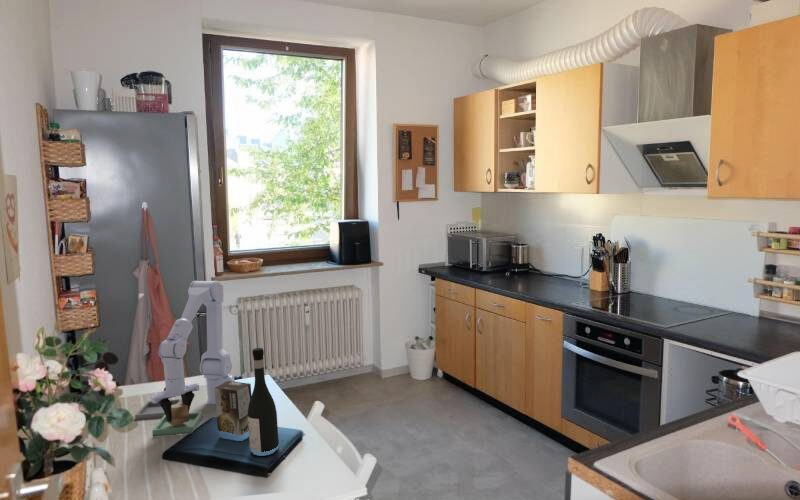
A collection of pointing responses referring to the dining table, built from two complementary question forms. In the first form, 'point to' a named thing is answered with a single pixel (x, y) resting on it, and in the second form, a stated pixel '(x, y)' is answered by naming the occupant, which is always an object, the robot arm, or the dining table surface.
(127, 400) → the dining table surface
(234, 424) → the coffee box
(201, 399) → the dining table surface
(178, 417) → the brown cardboard box
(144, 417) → the charcoal tray
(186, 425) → the green tray
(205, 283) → the robot arm
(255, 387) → the wine bottle
